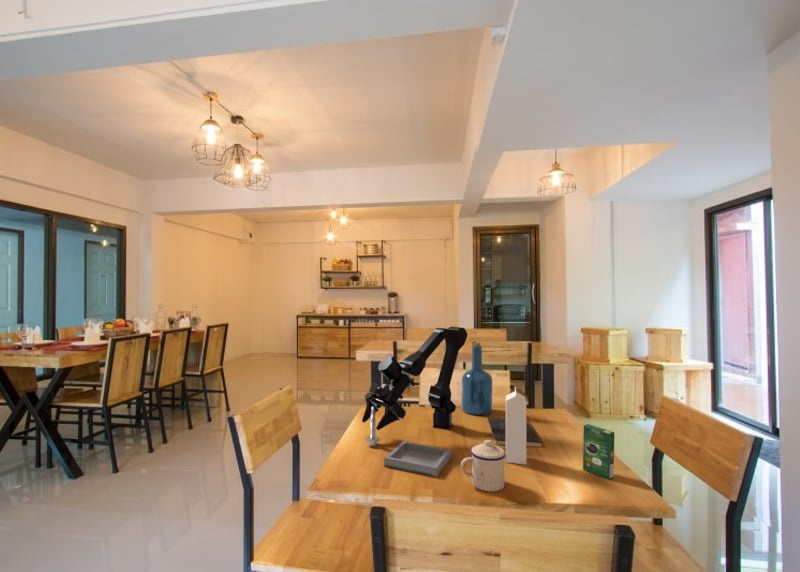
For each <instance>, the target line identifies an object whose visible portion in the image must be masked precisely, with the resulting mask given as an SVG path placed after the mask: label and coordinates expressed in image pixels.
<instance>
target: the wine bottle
mask: <svg viewBox="0 0 800 572" xmlns="http://www.w3.org/2000/svg"><path fill="white" fill-rule="evenodd" d="M471 353H472V357H471V358H472V361H471V368H470V369H469V370H466V371H465V372H464V374H462V377H461V410H462V411H463V412H464V413H467V414H469V415H473V416H474V415H475V416H486V415H489V414H491V413H492V411H493V405H494V404H493V403H494V402H493V394H494V393H493V389H494V388H493V383H494V382H493V380H494V379H493V377H492V375H491V374H490V373H489V372H488V371H486V370H484V368H483V355H482V354H483V349H482V345H481V343H480V342H473V346H472V351H471Z"/></svg>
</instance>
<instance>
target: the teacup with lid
mask: <svg viewBox="0 0 800 572" xmlns="http://www.w3.org/2000/svg"><path fill="white" fill-rule="evenodd" d="M470 453H471V456H468V457H465V458H463V459H462V461H461V463H460V469H461V471H462V473H463V474H464V475H465V476H466V477H469V478H470V477H471V483H472V485H473V486H474V487H475V488H476V489H478V490H481V491H483V492H489V493H491V492H492V493H493V492H498V491H501V490H503V489H504V487H505V458H506V451H505V450H504V449H503V448H502V447H500V446H499V445H496V444H495V443H494V444H493V441H492V440H491V439H485V440H484V441H483V442H482V443H479V444H476V445H474V446H473V447H472V448H471V450H470ZM467 462H471V472H467V471H466V470H465V464H467Z"/></svg>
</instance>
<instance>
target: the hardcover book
mask: <svg viewBox="0 0 800 572" xmlns="http://www.w3.org/2000/svg"><path fill="white" fill-rule="evenodd" d="M487 422H488V424H489V428H490V431H491V434H492V437H493V441H494V445H498V446H499V445H500V446H501V445H502V446H503V445H504V446H506V418H496V417H495V418H494V417H488V418H487ZM526 447H539V448H541V447H542V448H543V447H544V444H543V441H542V439H541V438H540V436H539V435H538V434H537V432H536V430H535V429H534V427H533V426H532V424H531V422H530V421H529V420H528V419H526Z"/></svg>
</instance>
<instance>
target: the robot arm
mask: <svg viewBox="0 0 800 572" xmlns="http://www.w3.org/2000/svg"><path fill="white" fill-rule="evenodd" d="M467 338H468V332H467V330H466V329H465V328H464V327H460V326H449V327H448V328H445V327H435V328H434V330H433V332H432V333H431V334H430V336H428V338H427V339H426V340H425V341H424V342H423V344H422V345H421V346H420V347H419V348H418V349H417V350H416V351H415V352H414V353H411V354H409V355H408V356H407V357H405V358H404V359H403V360H402V361H401V362H398V361H397V359H396V357H394V356H393V355H388V357H386V358H384V359H383V360H382V361H381V360H380V362H379V364H378V367H377V369H378V370H379V371H380V373H382V375H383V376H384V377H385V378H386V379H387V380H388V381H391V382H390V383H389V384H386V383H383V384H381V385H380V384H377V383H376V382H371V384H370V387H369V390H368V392H367V393H366V394H365V396H364V399H365V400H364V401H365V402H366V403H365V404H366V406H365V411H364V414H363V417H362V420H361V422H362V423H366V422H367V421H368V420H370V419H371V417H370V416H371V409H372V407H375V414H376V413H377V412H379V409H380V408H381V407H383V408H384V414H383V415H382V416H381V419H379V422H378V424H376V425H377V426H375V427H376V428H375V429H376V430H377V431H380V430H382V429H383V428H385V427H387V426H389V425H391V424H393V423H394V422H396V421H400V419H401V420H404V418H405V416H407V411H406V410H405V408H404V407H402V405H401V404H400V403H398V401H399V399H400V400H403V398H404V396H403V393H404V392H405V391H406V390H407V388H408V387H409V386H411V387H415V378H413V377H418V376H420V375H421V374H422V372H423V371H424V369H425V367H426V364H427V360H429V358H430V356H431V355H432V354H433V353H434V352H435V351H436V350H437V348H438V347H439V346H440V345H441V343H442V342H443V341H445V345H446V346H445V347H446V348H445V352H444V355H443V359H442V363H441V367H440V370H439V375H438V378H437V382H436V383H435V384H433V385H430V388H429V392H428V394H427V396H428V399H427V401H429V404H430V406H431V407H430V408H431V409H434V412H433V413H432V424H433V425H432V427H433V428H438V429H445V430H450V429H451V427H453V425H454V422H453V413H455V412H456V409H457V406H456V404H455V403H454V402H453V401H452V400H451V399H452V391H451V387H450V385H451V382H452V378H453V374H454V370H455V366H456V363H457V359H458V355H459V352H460V350H461V349H462V348H463V347H464V345H465V343H466V340H467ZM409 375H410V376H413V377H410V376H409Z"/></svg>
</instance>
